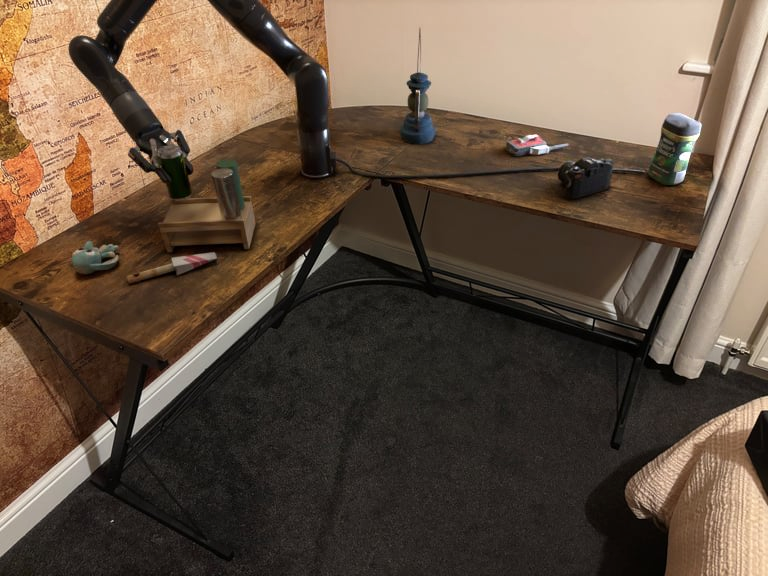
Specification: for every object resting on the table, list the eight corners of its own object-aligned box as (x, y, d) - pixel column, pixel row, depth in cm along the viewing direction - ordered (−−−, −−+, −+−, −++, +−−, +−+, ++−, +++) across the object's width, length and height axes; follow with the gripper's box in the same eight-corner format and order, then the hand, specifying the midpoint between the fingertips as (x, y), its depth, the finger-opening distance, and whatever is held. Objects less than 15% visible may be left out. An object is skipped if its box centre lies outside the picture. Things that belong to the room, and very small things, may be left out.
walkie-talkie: (515, 160, 173) (569, 149, 178) (517, 147, 170) (571, 136, 175) (501, 149, 179) (553, 139, 185) (502, 136, 177) (555, 127, 182)
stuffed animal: (130, 234, 132) (90, 253, 122) (135, 262, 135) (96, 282, 125) (95, 227, 135) (53, 244, 125) (100, 253, 138) (60, 272, 128)
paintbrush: (216, 254, 129) (126, 279, 123) (218, 263, 131) (130, 289, 125) (213, 246, 132) (125, 270, 126) (215, 255, 133) (129, 279, 128)
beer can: (173, 204, 130) (160, 156, 123) (166, 194, 134) (153, 148, 126) (195, 197, 132) (184, 150, 125) (188, 188, 136) (177, 142, 129)
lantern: (402, 129, 194) (403, 21, 172) (436, 130, 193) (440, 21, 171) (397, 145, 183) (397, 32, 161) (433, 147, 182) (438, 33, 160)
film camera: (574, 171, 166) (581, 140, 160) (613, 185, 159) (621, 152, 153) (541, 192, 156) (547, 159, 150) (581, 207, 149) (589, 174, 143)
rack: (255, 223, 145) (243, 156, 134) (249, 249, 136) (235, 179, 124) (179, 226, 145) (159, 159, 133) (167, 252, 135) (145, 182, 124)
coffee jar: (641, 174, 164) (660, 112, 153) (663, 169, 166) (683, 108, 155) (665, 188, 157) (686, 125, 145) (687, 183, 159) (709, 121, 147)
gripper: (110, 117, 120) (158, 182, 121) (166, 98, 129) (210, 159, 130) (105, 135, 126) (150, 197, 127) (159, 116, 135) (201, 174, 136)
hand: (180, 177), depth 129 cm, fingers closed on beer can, 5 cm apart
